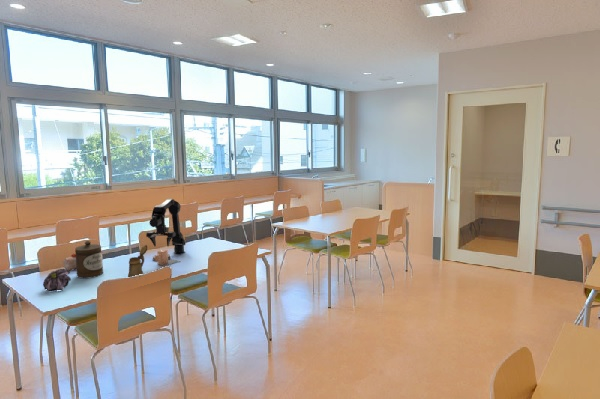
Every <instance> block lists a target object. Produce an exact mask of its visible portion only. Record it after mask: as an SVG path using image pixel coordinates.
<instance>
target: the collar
mask: <svg viewBox="0 0 600 399" xmlns="http://www.w3.org/2000/svg"><path fill="white" fill-rule="evenodd" d="M168 260H171V255H170V254H169V253H168ZM152 261H154V262H157V261H156V260H155V255H153V256H152Z"/></svg>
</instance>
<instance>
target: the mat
mask: <svg viewBox="0 0 600 399" xmlns="http://www.w3.org/2000/svg"><path fill="white" fill-rule="evenodd" d="M177 262H178V263H181V262H182V260H178V259H169V260H168V264H166V265H162V266H164V267H166V266H171V265H173V264H177ZM157 265H158V262H157Z"/></svg>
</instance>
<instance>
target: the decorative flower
mask: <svg viewBox="0 0 600 399" xmlns="http://www.w3.org/2000/svg"><path fill="white" fill-rule="evenodd" d="M69 274H71V272H70V271H69V270H67V269H65V268H59V269H56V270H53V271H51V272H50V273H48V275H47V276H46V277H44V280H43V282H42V285H43V288H44V290H45V289H47V290H48V291H53V292H55V291H56V292H57V290H62V291H63V288H67V286H68V285H69V282H70V281H72V278H71V277H70V276H69ZM47 290H46V291H47ZM48 291H47V292H48Z"/></svg>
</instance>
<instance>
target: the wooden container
mask: <svg viewBox="0 0 600 399" xmlns="http://www.w3.org/2000/svg"><path fill="white" fill-rule="evenodd" d="M75 254H76V268H77V269H76V276H78V277H77V278H79V277H83V278H82V279H85V278H84V277H91V278H95V277H94V276H96V277H99V276H101V275H102V274H103V273H104V268H103V265H104V264H103V256H102V245H101V244H94V243H92V244H91V241H90V240H86V241H85V242H84V245H80V246H77V247H75ZM98 275H99V276H98Z"/></svg>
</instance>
